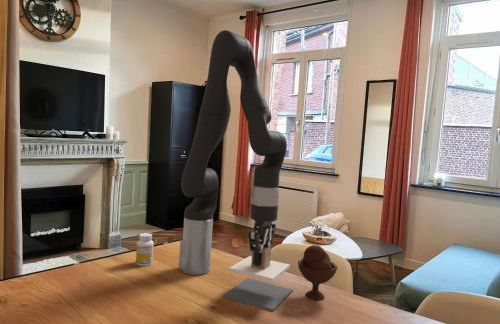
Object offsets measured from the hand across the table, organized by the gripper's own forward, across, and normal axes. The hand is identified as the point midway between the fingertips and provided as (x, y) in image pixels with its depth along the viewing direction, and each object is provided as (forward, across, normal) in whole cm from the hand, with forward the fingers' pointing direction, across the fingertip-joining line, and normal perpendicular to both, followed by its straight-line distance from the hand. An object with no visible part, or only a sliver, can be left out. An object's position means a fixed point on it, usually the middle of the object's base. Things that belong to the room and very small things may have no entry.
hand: (260, 262), depth 104 cm
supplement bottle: (+9, 0, -42) cm, 43 cm away
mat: (+9, 0, 0) cm, 9 cm away
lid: (+2, 0, 0) cm, 2 cm away
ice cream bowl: (+9, -8, +14) cm, 19 cm away
